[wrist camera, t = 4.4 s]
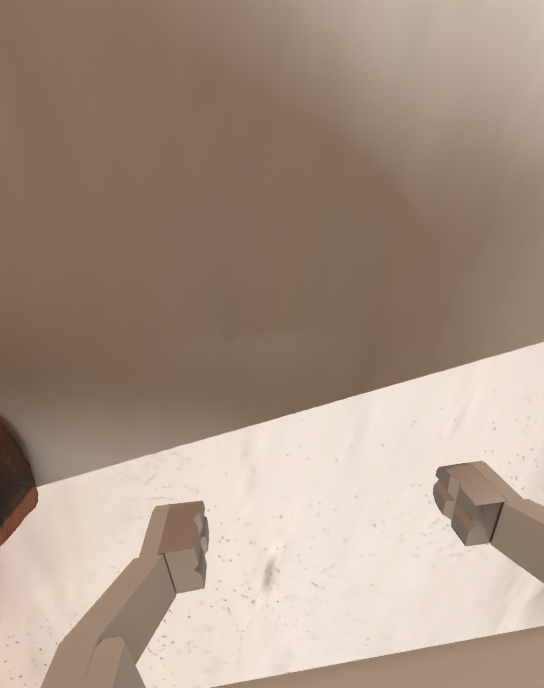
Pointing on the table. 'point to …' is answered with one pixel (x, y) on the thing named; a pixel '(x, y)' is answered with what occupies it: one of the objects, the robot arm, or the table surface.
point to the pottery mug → (14, 486)
